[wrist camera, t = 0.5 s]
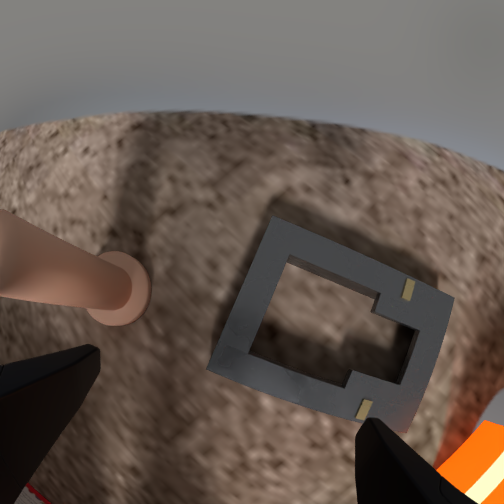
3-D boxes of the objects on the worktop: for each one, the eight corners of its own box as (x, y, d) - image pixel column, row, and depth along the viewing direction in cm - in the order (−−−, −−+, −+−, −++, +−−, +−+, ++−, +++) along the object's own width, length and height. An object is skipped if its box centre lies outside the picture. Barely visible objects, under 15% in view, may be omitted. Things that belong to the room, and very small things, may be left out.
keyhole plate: (210, 363, 23) (205, 369, 20) (269, 226, 25) (272, 214, 22) (391, 424, 22) (407, 434, 19) (437, 300, 24) (455, 297, 21)
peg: (100, 334, 23) (-33, 338, 8) (81, 269, 24) (-44, 217, 9) (161, 312, 23) (53, 298, 9) (139, 244, 25) (35, 159, 10)
